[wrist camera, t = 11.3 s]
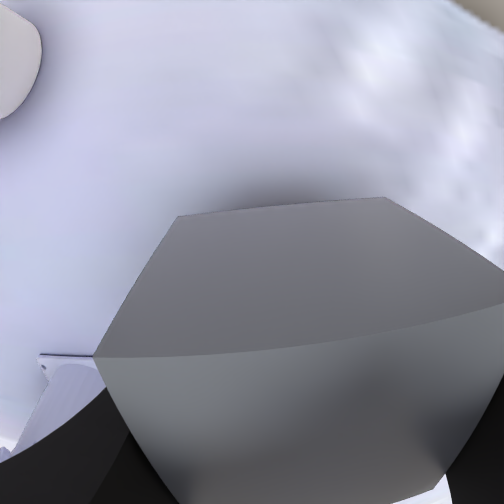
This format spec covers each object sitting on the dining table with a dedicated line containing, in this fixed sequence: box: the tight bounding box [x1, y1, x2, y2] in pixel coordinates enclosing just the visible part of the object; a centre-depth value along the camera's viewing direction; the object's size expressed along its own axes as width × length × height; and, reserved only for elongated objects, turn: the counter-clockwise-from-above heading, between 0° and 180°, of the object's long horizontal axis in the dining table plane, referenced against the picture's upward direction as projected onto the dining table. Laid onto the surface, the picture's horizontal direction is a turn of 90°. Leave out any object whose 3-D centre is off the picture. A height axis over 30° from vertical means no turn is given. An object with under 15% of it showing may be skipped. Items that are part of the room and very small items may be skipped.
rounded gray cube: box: [92, 197, 504, 504], centre depth 7 cm, size 6×6×6 cm
